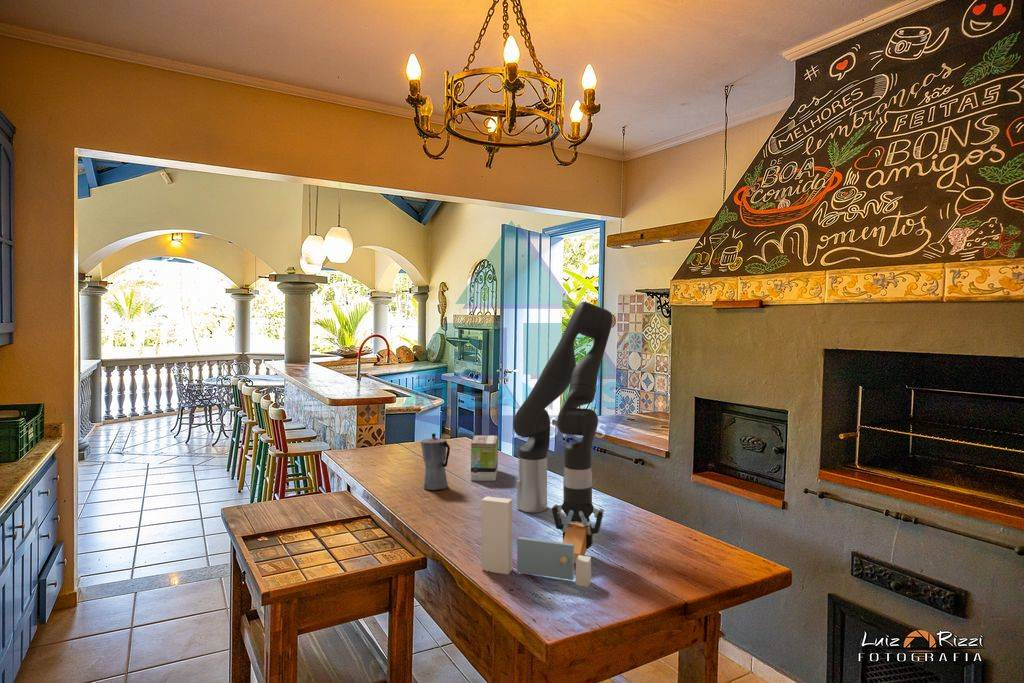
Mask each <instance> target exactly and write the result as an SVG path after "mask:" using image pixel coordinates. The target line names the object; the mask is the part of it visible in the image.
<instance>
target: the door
mask: <svg viewBox="0 0 1024 683" xmlns="http://www.w3.org/2000/svg"><path fill="white" fill-rule="evenodd" d="M516 552H517V553H516V554H517V555H516V556H517V557H516V560H517V561H516V569H517V570H516V572H517V573H522V574H523V573H524V574H530V575H536V576H542V577H549V578H556V579H562V580H563V579H564V580H569V581H574V578H575V572H574V571H575V563H574V544H570V543H563V541H562V542H561V541H555V540H546V539H539V538H538V539H537V538H530V537H524V536H518V537H517V539H516Z"/></svg>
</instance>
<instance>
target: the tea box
mask: <svg viewBox="0 0 1024 683" xmlns="http://www.w3.org/2000/svg"><path fill="white" fill-rule="evenodd" d="M498 453H499V436H498V435H481V434H480V435H473V438H472V441H471V443H470V481H473V482H475V481H477V482H480V481H481V482H482V481H483V482H495V481H496V479H497V476H498V470H499V469H498V468H499V467H498V465H499V463H498V461H499V456H498V455H499V454H498Z"/></svg>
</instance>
